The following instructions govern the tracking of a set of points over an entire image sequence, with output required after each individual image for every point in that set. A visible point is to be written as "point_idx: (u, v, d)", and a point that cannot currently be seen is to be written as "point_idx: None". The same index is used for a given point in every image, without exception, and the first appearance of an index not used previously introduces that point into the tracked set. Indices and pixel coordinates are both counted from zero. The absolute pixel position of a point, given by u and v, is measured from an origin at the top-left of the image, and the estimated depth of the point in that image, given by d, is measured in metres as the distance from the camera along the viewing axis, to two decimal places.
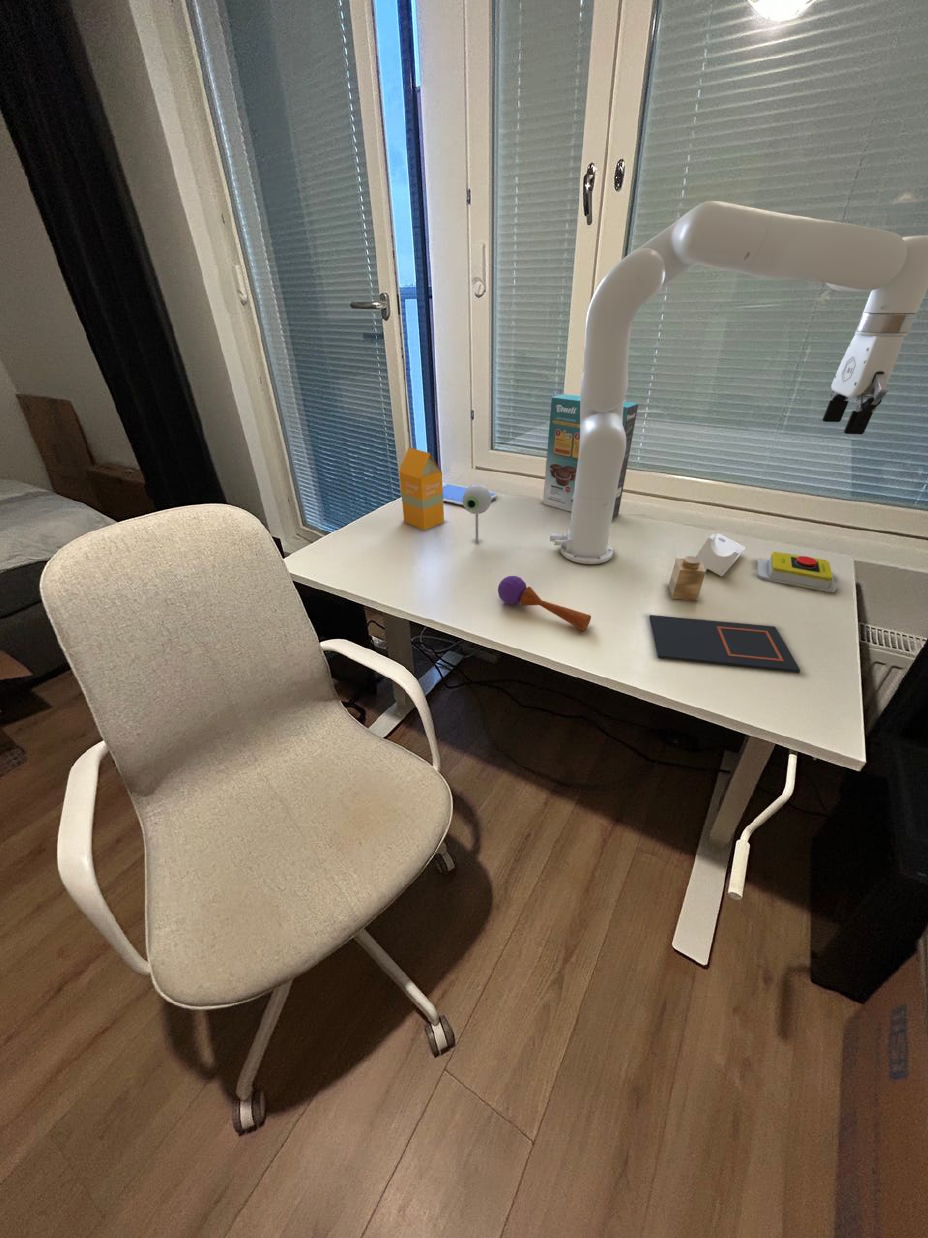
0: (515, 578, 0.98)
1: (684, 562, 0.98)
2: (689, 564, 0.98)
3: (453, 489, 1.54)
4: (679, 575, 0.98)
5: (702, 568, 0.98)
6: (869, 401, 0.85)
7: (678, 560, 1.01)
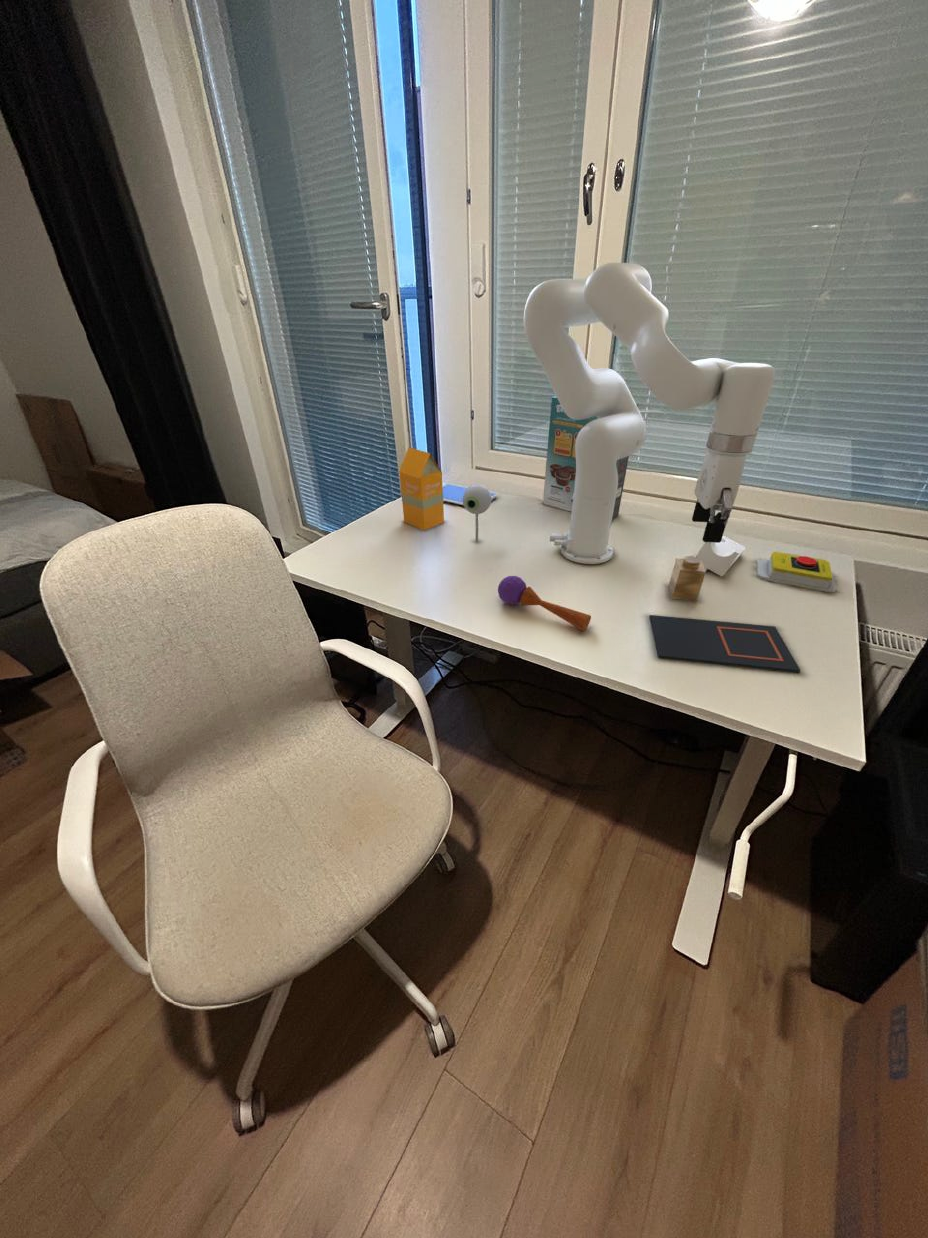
0: (515, 578, 0.98)
1: (684, 562, 0.98)
2: (689, 564, 0.98)
3: (453, 489, 1.54)
4: (679, 575, 0.98)
5: (702, 568, 0.98)
6: (718, 516, 0.86)
7: (678, 560, 1.01)
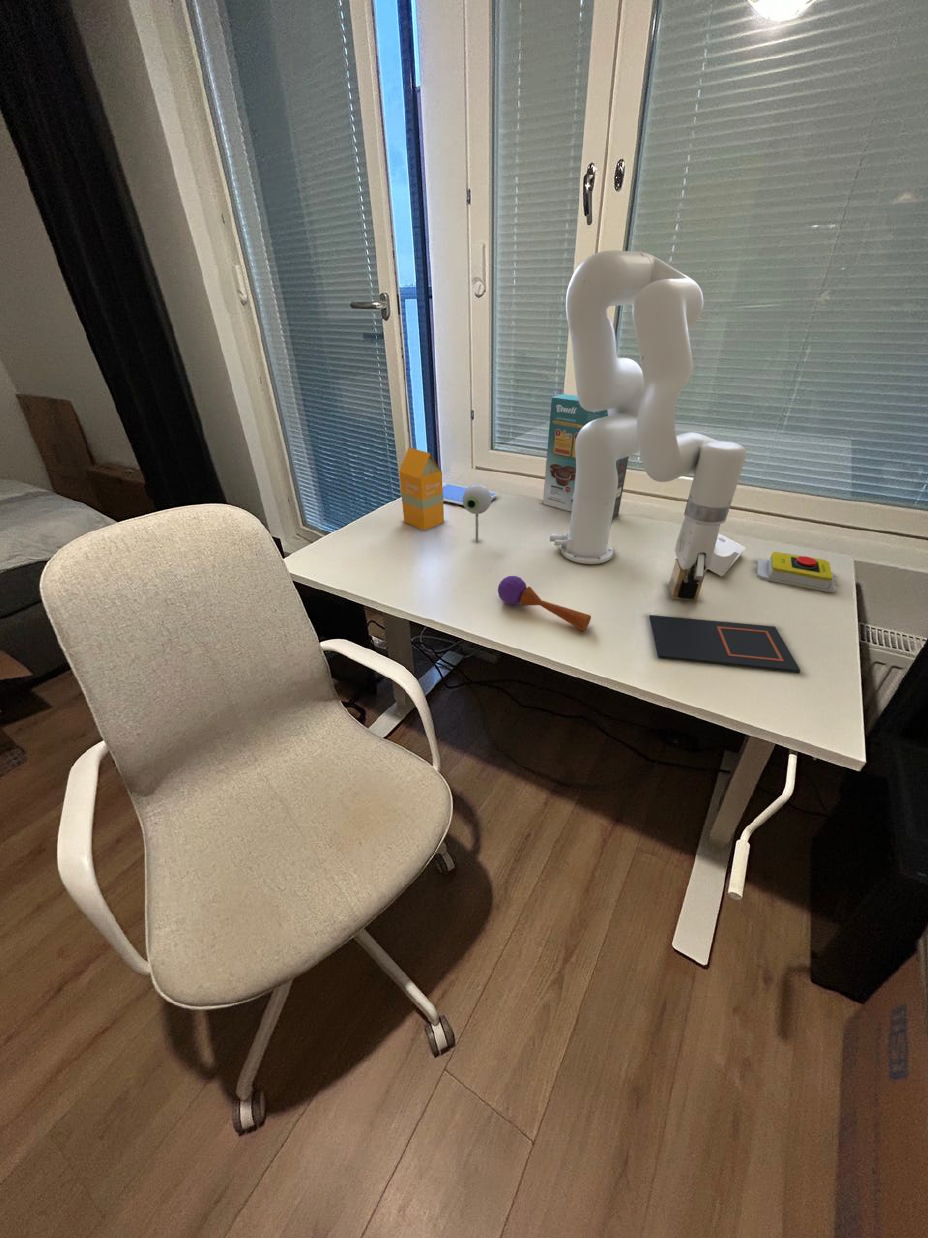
0: (515, 578, 0.98)
1: None
2: None
3: (453, 489, 1.54)
4: (679, 575, 0.98)
5: None
6: (690, 578, 0.95)
7: None
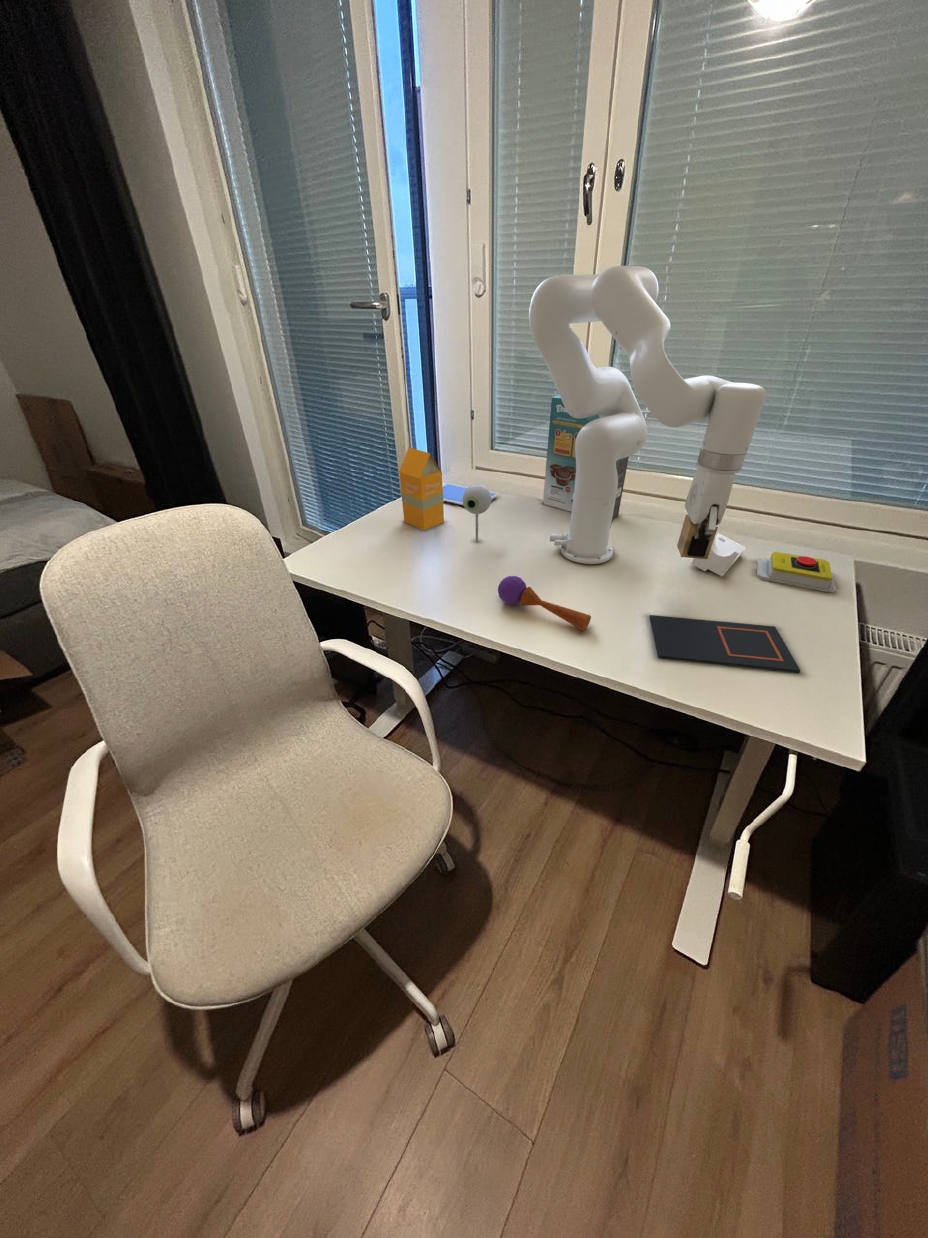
0: (515, 578, 0.98)
1: None
2: None
3: (453, 489, 1.54)
4: (689, 531, 0.93)
5: None
6: (702, 532, 0.90)
7: (688, 516, 0.95)
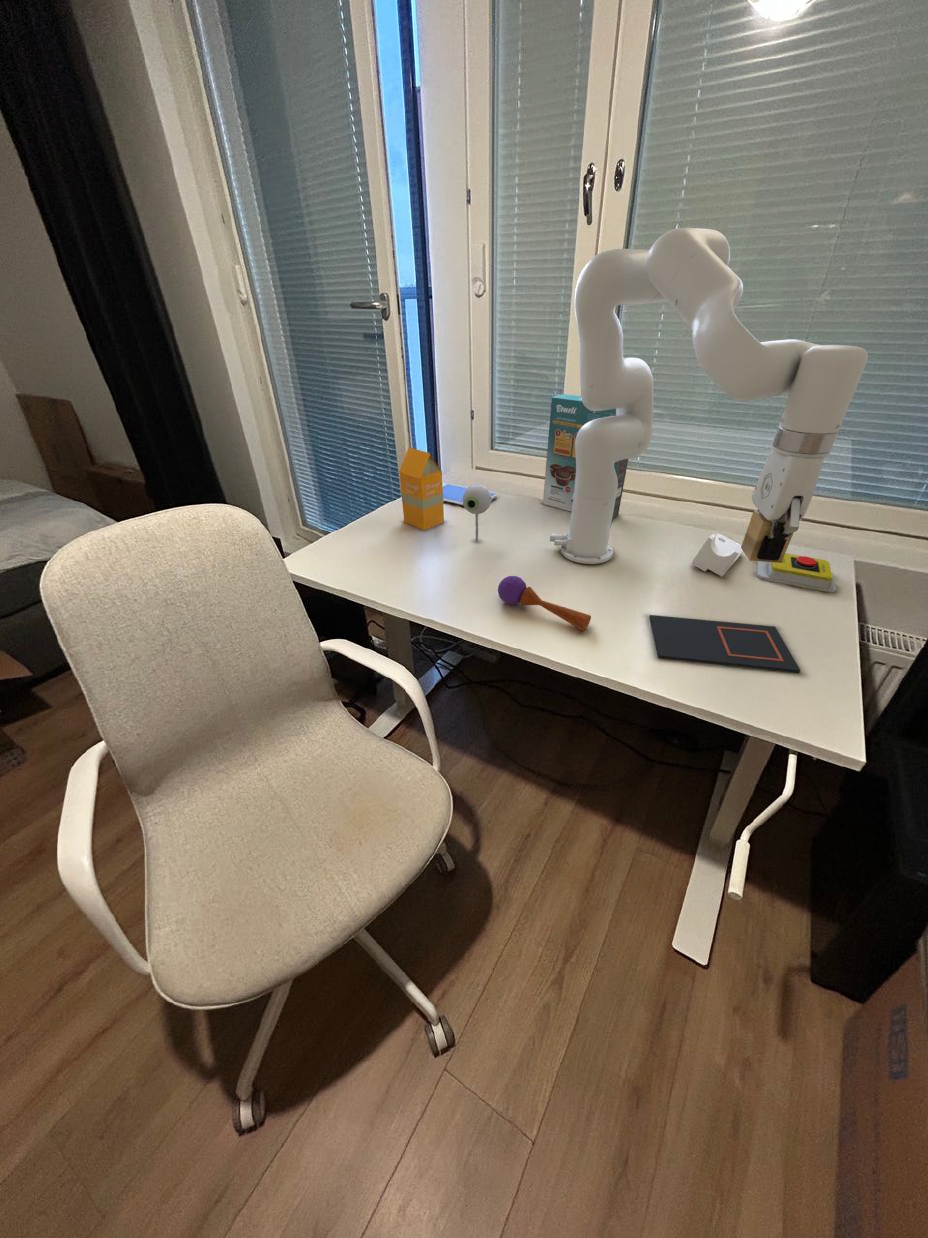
0: (515, 578, 0.98)
1: None
2: None
3: (453, 489, 1.54)
4: (761, 529, 0.77)
5: None
6: (779, 531, 0.74)
7: (757, 512, 0.80)
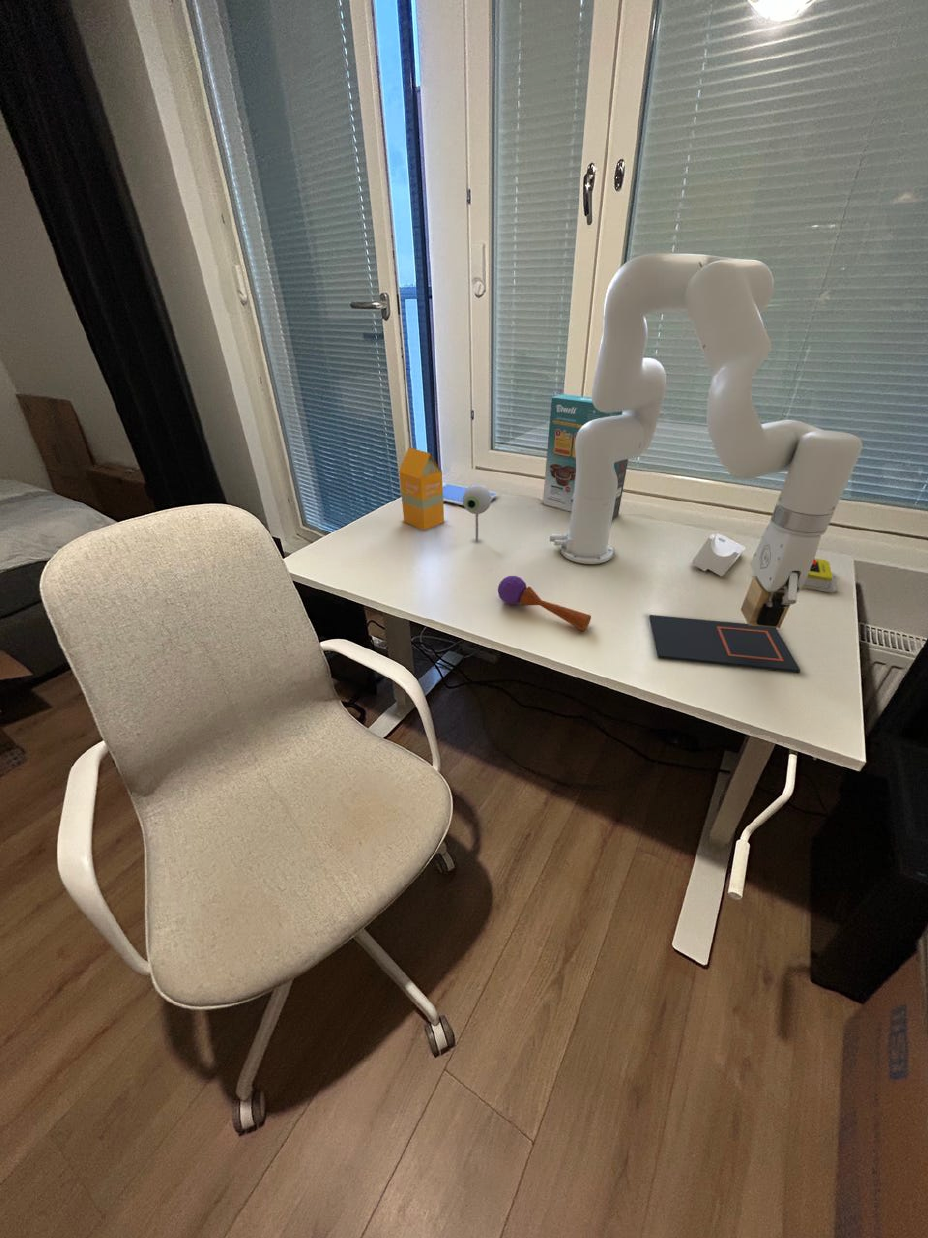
0: (515, 578, 0.98)
1: None
2: None
3: (453, 489, 1.54)
4: (760, 597, 0.80)
5: None
6: (778, 602, 0.76)
7: (757, 578, 0.82)
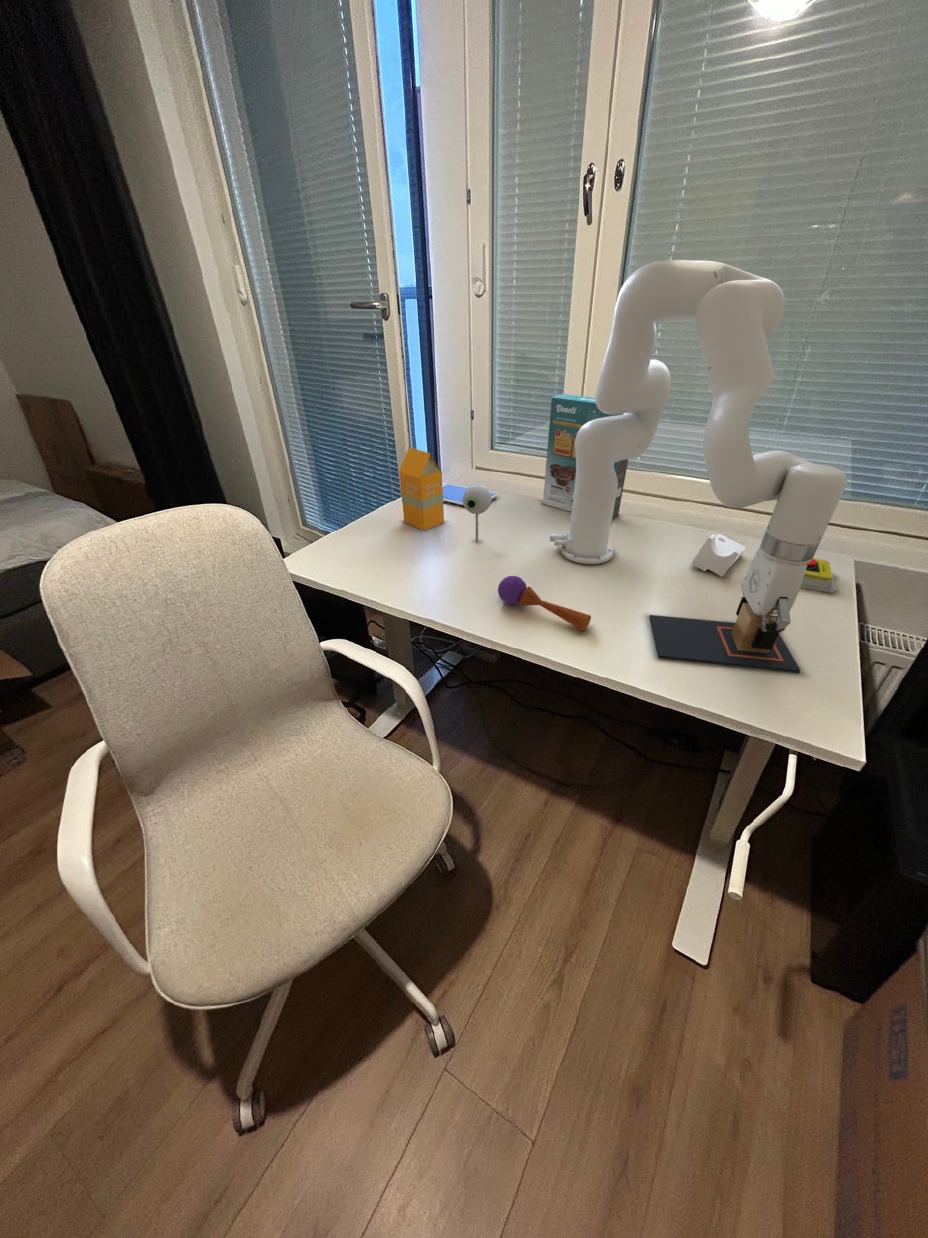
0: (515, 578, 0.98)
1: None
2: None
3: (453, 489, 1.54)
4: (749, 625, 0.83)
5: None
6: (772, 627, 0.77)
7: (746, 605, 0.85)
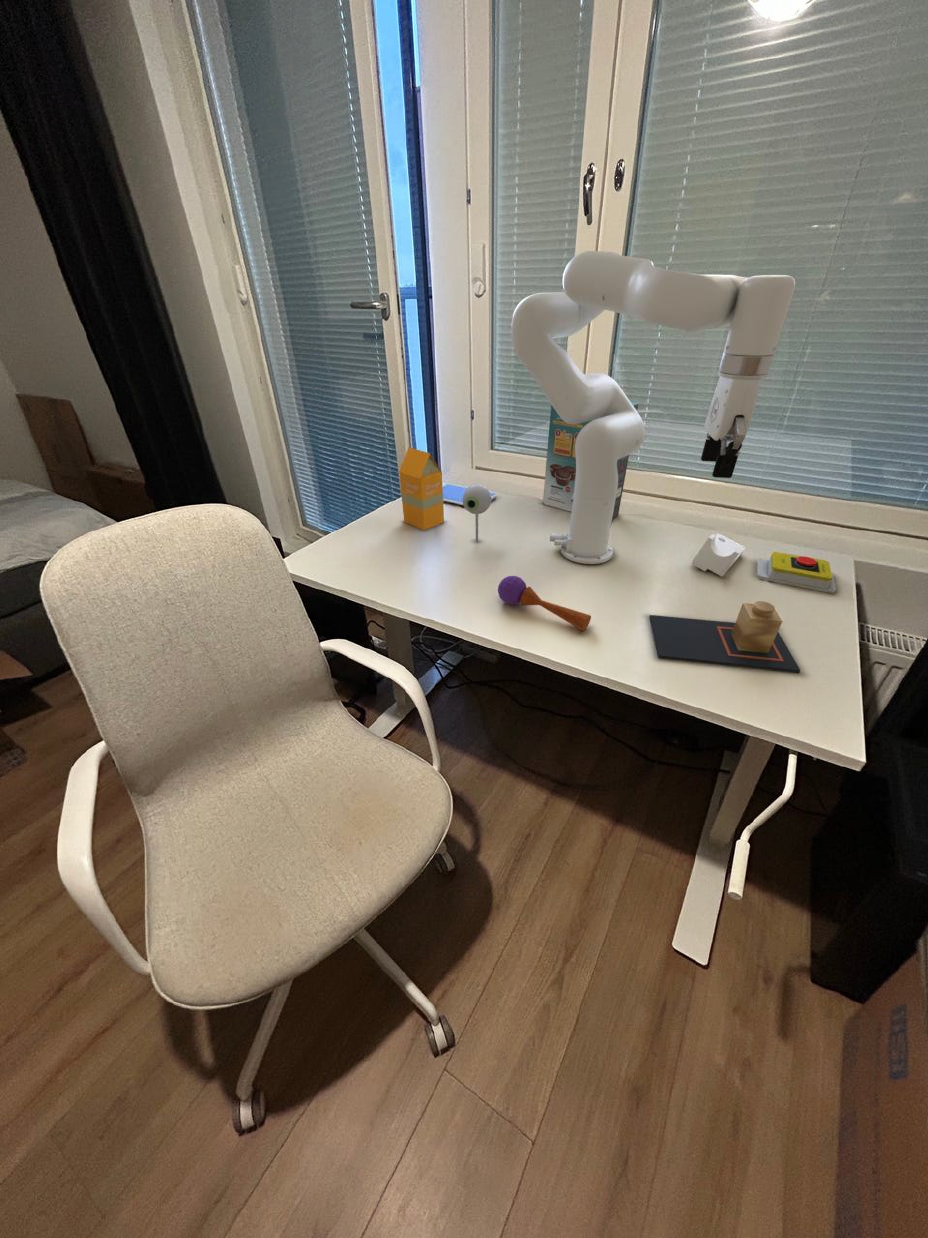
0: (515, 578, 0.98)
1: (755, 609, 0.83)
2: (762, 612, 0.82)
3: (453, 489, 1.54)
4: (749, 625, 0.83)
5: (777, 617, 0.82)
6: (730, 446, 0.80)
7: (746, 605, 0.85)
